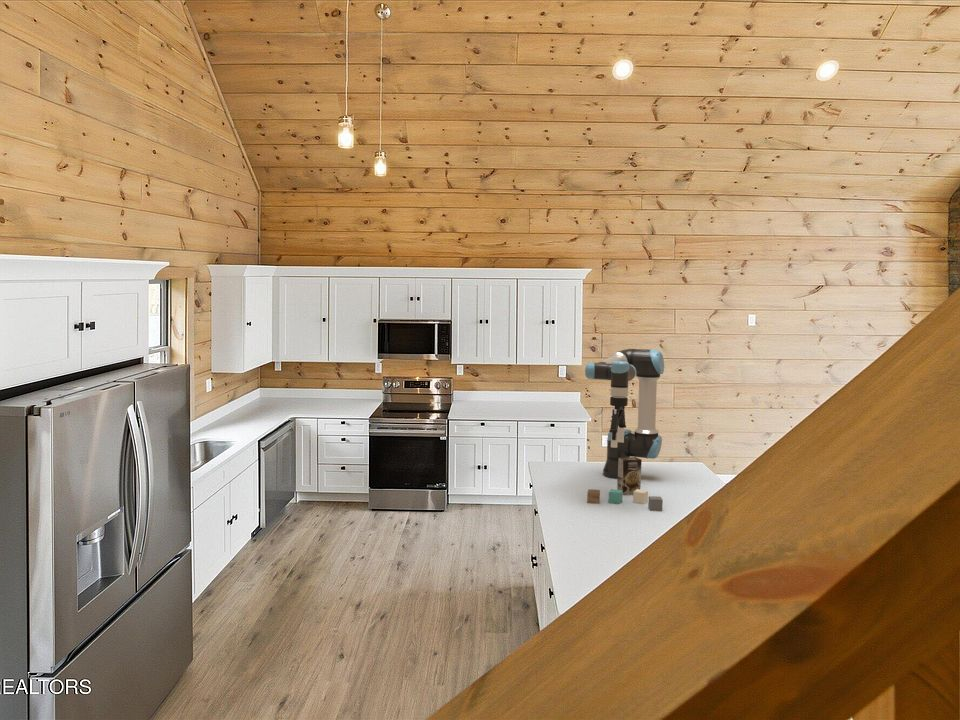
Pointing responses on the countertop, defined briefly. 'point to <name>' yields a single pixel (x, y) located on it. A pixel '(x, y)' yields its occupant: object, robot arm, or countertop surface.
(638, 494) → the cream cube
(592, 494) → the walnut cube
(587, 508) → the countertop surface
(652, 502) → the charcoal cube
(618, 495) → the teal cube
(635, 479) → the coffee box
